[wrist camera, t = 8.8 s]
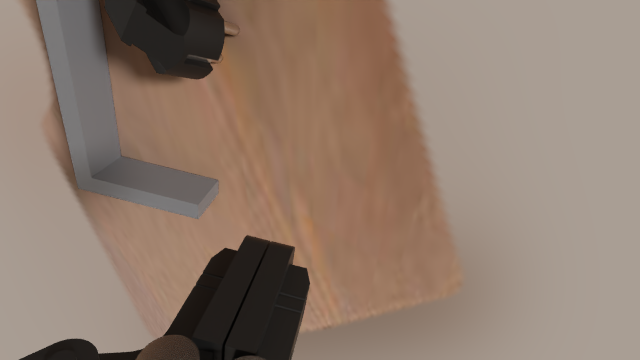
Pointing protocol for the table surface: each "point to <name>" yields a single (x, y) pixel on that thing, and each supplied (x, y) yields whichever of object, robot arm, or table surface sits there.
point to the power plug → (173, 33)
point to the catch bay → (106, 117)
